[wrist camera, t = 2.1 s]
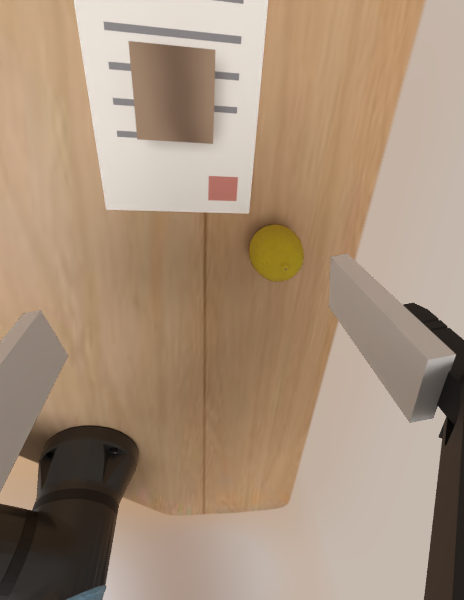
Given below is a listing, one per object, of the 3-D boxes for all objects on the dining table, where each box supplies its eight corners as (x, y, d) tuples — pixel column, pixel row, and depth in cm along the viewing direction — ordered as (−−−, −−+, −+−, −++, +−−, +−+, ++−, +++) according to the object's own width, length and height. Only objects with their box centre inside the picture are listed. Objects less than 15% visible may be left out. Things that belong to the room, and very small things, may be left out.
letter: (106, 209, 31) (106, 209, 31) (61, -82, 21) (60, -84, 21) (248, 212, 33) (249, 213, 33) (272, -51, 23) (272, -52, 23)
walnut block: (144, 135, 28) (137, 139, 24) (138, 53, 25) (128, 40, 21) (209, 139, 29) (213, 143, 25) (211, 60, 26) (215, 49, 22)
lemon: (234, 235, 35) (245, 265, 28) (275, 205, 33) (297, 229, 27) (260, 269, 37) (276, 303, 30) (298, 242, 36) (324, 272, 29)
